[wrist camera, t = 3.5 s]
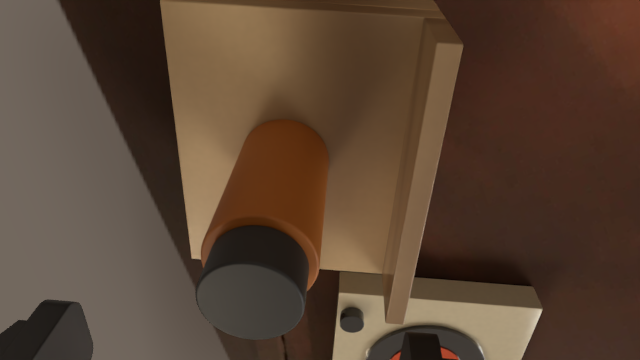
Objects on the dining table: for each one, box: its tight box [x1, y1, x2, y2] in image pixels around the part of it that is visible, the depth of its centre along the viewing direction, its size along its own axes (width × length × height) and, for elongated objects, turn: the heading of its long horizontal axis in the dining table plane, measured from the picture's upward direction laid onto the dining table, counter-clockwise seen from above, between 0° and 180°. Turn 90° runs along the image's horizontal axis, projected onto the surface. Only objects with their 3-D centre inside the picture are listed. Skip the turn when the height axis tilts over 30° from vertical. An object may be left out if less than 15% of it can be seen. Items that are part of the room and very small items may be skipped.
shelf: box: [160, 0, 463, 325], centre depth 21 cm, size 10×12×10 cm
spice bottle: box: [196, 119, 329, 340], centre depth 16 cm, size 4×4×8 cm
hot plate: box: [331, 271, 543, 360], centre depth 34 cm, size 13×13×3 cm
